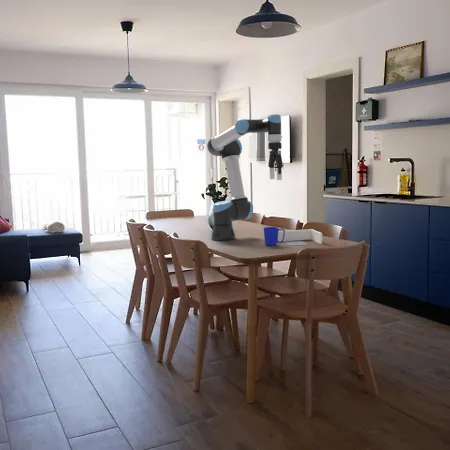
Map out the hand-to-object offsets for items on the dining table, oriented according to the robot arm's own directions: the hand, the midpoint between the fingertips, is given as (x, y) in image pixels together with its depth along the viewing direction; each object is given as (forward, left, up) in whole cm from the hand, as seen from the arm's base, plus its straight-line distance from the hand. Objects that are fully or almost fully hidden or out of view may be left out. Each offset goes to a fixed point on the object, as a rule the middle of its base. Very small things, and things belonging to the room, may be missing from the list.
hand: (275, 179), depth 304 cm
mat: (+10, -3, -37) cm, 39 cm away
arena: (+11, -1, -37) cm, 39 cm away
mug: (-3, -5, -38) cm, 38 cm away
